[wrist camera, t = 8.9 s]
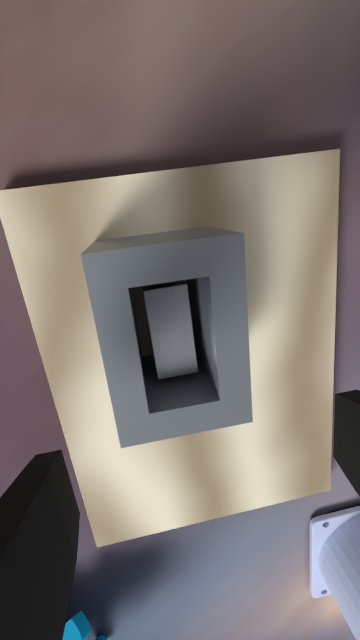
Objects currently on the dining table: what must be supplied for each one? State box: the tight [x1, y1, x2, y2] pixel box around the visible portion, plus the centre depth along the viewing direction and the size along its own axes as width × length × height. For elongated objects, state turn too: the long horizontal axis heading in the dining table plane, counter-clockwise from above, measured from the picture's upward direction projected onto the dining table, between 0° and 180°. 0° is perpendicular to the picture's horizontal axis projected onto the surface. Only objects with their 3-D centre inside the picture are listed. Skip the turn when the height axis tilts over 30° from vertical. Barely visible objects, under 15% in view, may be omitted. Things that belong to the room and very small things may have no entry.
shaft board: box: [0, 149, 340, 547], centre depth 18 cm, size 15×20×1 cm
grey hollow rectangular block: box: [81, 227, 253, 448], centre depth 13 cm, size 5×7×5 cm
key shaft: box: [141, 280, 198, 379], centre depth 14 cm, size 2×4×4 cm, turn 8°
